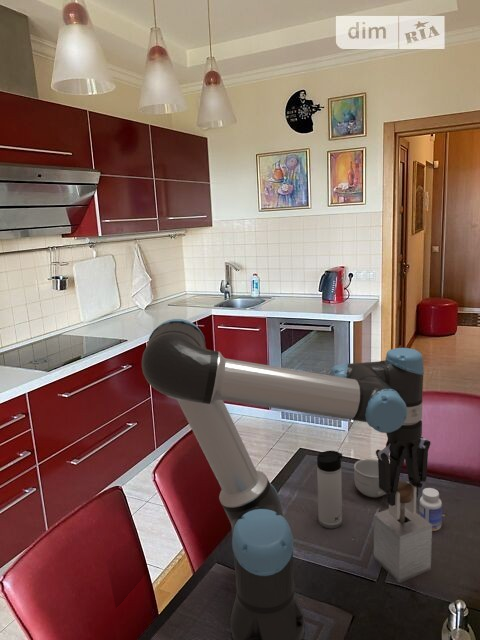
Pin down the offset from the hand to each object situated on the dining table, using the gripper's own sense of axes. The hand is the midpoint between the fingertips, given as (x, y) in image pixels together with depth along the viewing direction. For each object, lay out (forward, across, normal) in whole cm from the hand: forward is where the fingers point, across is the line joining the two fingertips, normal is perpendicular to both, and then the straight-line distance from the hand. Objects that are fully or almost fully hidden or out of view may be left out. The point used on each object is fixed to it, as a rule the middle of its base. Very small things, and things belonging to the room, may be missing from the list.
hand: (402, 512), depth 113 cm
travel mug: (+14, -6, +21) cm, 26 cm away
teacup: (+14, +12, +26) cm, 32 cm away
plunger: (+11, 0, 0) cm, 11 cm away
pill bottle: (+14, +16, +8) cm, 23 cm away
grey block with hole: (+14, 0, +1) cm, 14 cm away
